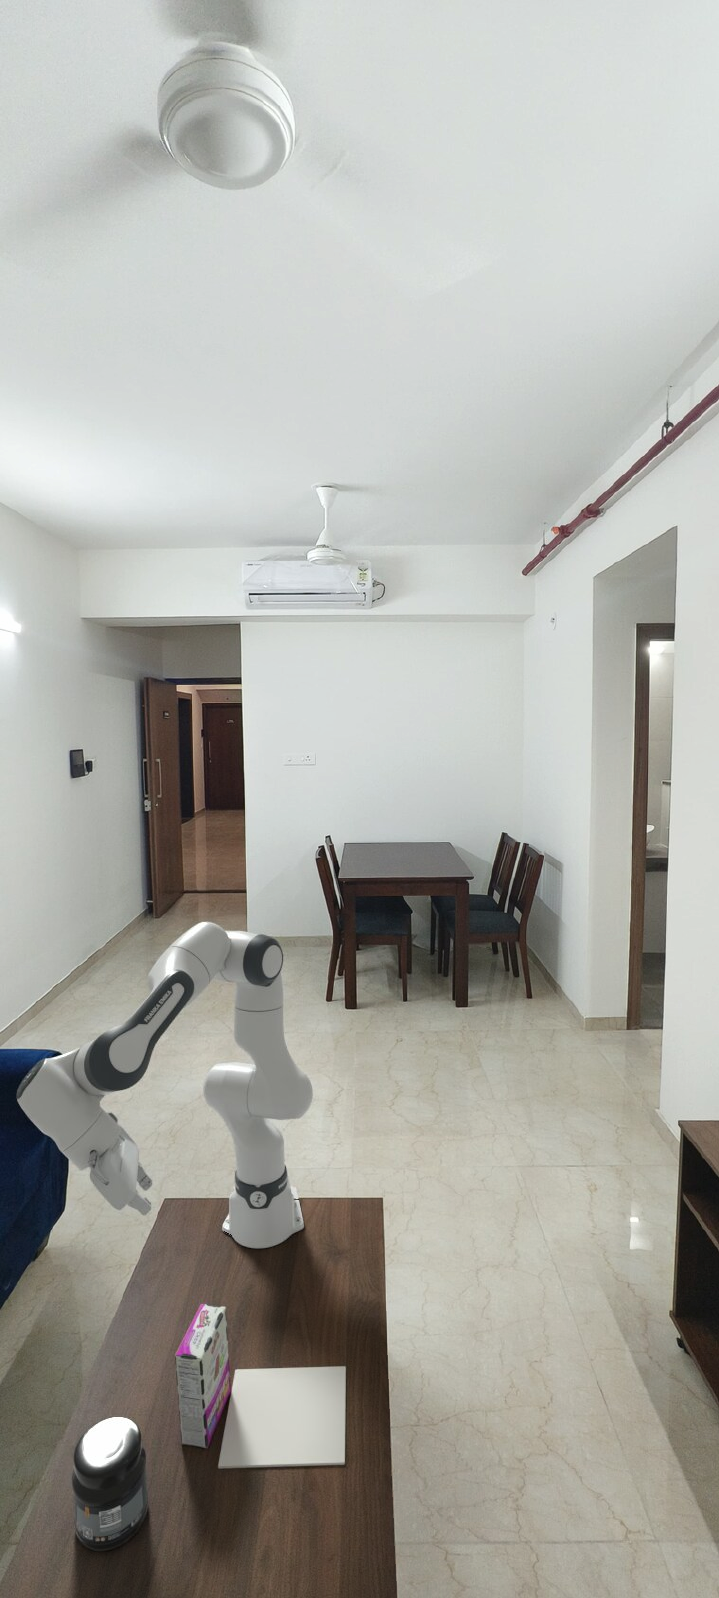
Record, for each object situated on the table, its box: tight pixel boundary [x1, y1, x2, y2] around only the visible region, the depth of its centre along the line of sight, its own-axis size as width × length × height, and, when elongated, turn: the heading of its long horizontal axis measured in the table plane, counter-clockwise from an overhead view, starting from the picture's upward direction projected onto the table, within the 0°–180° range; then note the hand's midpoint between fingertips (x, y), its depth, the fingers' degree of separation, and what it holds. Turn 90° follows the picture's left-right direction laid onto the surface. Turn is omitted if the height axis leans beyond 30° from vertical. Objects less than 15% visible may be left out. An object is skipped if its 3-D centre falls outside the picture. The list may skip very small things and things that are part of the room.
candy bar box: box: [174, 1303, 232, 1449], centre depth 129 cm, size 11×5×16 cm, turn 169°
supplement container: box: [70, 1416, 149, 1552], centre depth 114 cm, size 10×10×12 cm
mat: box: [217, 1365, 347, 1469], centre depth 130 cm, size 18×20×1 cm
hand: (149, 1198), depth 132 cm, fingers open, 8 cm apart
